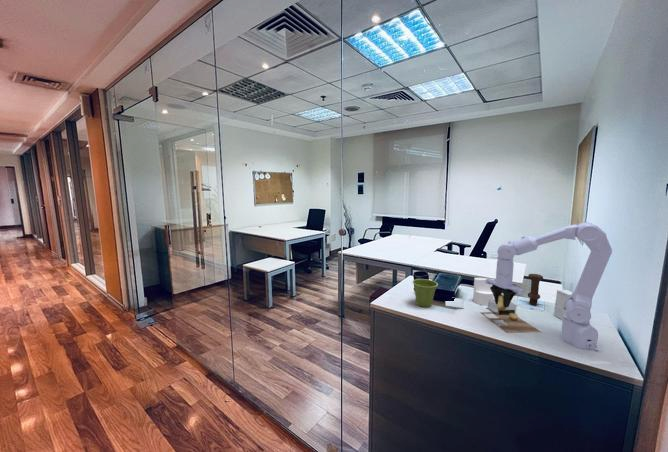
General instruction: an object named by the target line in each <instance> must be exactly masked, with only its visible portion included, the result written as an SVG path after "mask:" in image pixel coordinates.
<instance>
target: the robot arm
mask: <svg viewBox="0 0 668 452" xmlns="http://www.w3.org/2000/svg"><path fill="white" fill-rule="evenodd" d="M607 237H608V236H607V233H606V232H605V231H604V230H602V228H600V227H599V226H598V225H596V224H593V223H592V222H587V221H584V222H578V223H577V224H576V223H575V224H570V225H567V226H562V227H560V228H557V229H555V230H551V231H549V232H547V233H544V234H542V235H538V236H536V237H533V236H530V235H528V236H525V235H522V236H521V237H520V238H519V239H516V240H513V241H511V240H509V241H508V242H507V243H502V244H501V245H499V246H498V249H497V253H496V254H497V261H496V271H495V272H496V273H495V279H494V278H487V279H486V284H491V285H492V287H490V289H491V291H492V293H493V295H494V299H495V303H496V304H498V294H503V295H504V307H505V308H506V307H509V304H510V302H512V300H513V298H514V297H515V295H517V294H518V295H523V294H524V291H525V290H524V288H522V287H519V286H517V285H515V284H513V277H514V266H515V265H514V257H515V256H520V255H523V254H528V253H530V252H534V251H536V250H537V249H538V247H539V246H542V245H546V244H549V243H552V242H556V241H559V240H563V239H566V240H573V241H576V239H578V240H579V241H581V242H583V243H584V244H585V246H586V247H587V248H588V249H589V250H590V252H589V255H588V257H587V261H586V262H585V265H584V268H583V270H582V273H581V274H580V277H579V280H578V282H577V285H576V287H575V289H574V291H573V293H572V295H571V297H570V298H569V299H567V300H566V301H565V303H564V307H565V309H566V311H567V312H566V313H565V314H564V315H563V320H562V323H561V332H560V333H561V334H560V339H562V340H563V341H565V342H567V343H569V344H571V345H573V346H574V347H577V348H578V349H580V350H586V349H588V350H590V349H591V350H593V351H595V352H596V351H599V348H598V339H599V332H598V330H597V329H596V328H595V327H594V326H592V325H591V323H590V322H591V318H592V313H591V309H592V306H593V298H594V295H595V293H596V290H597V288H598V286H599V284H600V281H601V279H602V277H603V274H604V272H605V270H606V267H607V264H608V262H609V261H610V258H611V255H612V254H613V248H612V246H611V244H610V241H609V240H608V238H607ZM493 279H494V280H493Z"/></svg>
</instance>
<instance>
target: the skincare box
mask: <svg viewBox="0 0 668 452" xmlns="http://www.w3.org/2000/svg"><path fill="white" fill-rule="evenodd" d="M573 292H574V291H573ZM573 292H572V291H570V290H568V289H556V295H555V296H556V298H555V303H554V310H553V316H555V317H556V318H558V319H559V320H562V321H563V315H564V314H565V313H566V312H567V311H566V309H565V307H564V303H565V301H566V300H567V299H569V298H570V297H571V295H572V293H573Z"/></svg>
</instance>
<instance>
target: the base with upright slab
mask: <svg viewBox="0 0 668 452" xmlns="http://www.w3.org/2000/svg"><path fill="white" fill-rule="evenodd" d="M486 279H488V278H485V277H484V278H483V277H474V279H473V281H474V282H473V294H472V295H473V297H472V302H474V303H475V304H477V305H480V306H485V307H488V299H494V295H493V293H492V291H491V289H490V287H492V285H491V284H486ZM492 279H493V280H495V279H494V278H492Z"/></svg>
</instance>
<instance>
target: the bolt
mask: <svg viewBox="0 0 668 452" xmlns="http://www.w3.org/2000/svg"><path fill="white" fill-rule="evenodd" d="M528 278H529V279H530V290H529V292H528V293H527V296H528V298H529V305H531V306H538V301H539V299H541V295H540V294H539V291H540V290H539V288H540V287H539V286H540V281H541V280H542V281H543V280H544V276H543V275H541V274H538V273H529V274H528Z"/></svg>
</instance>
